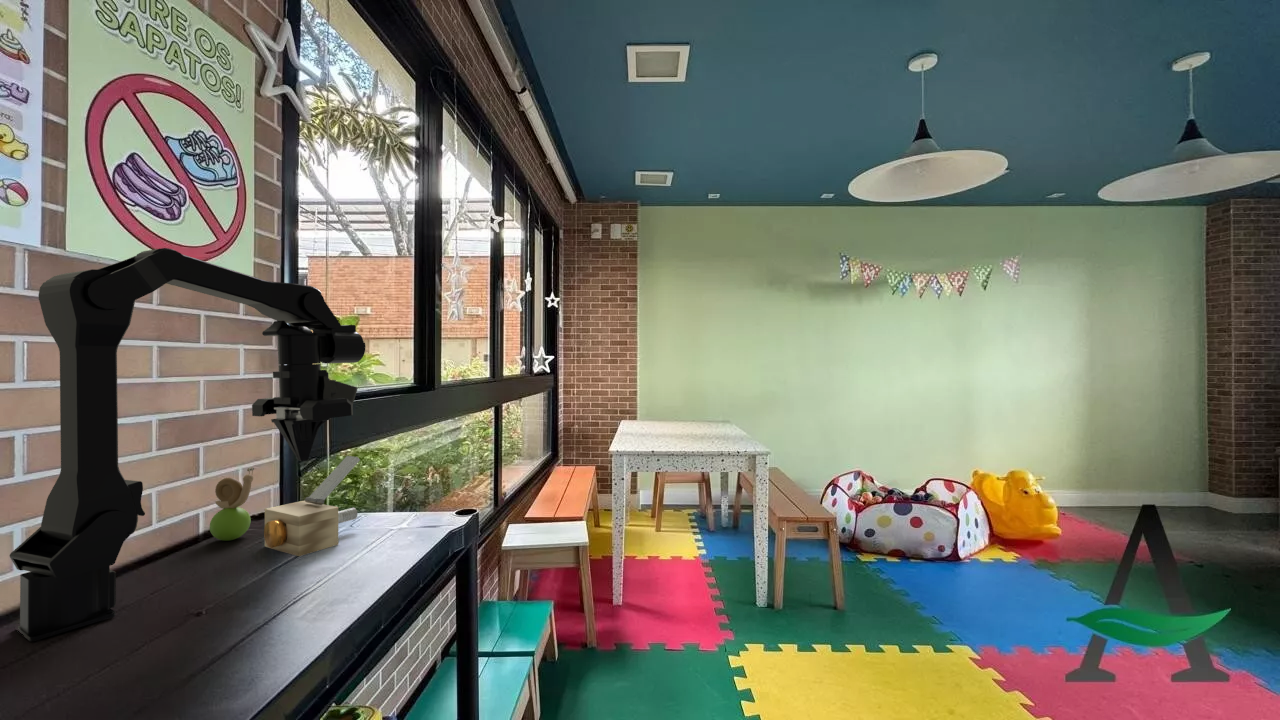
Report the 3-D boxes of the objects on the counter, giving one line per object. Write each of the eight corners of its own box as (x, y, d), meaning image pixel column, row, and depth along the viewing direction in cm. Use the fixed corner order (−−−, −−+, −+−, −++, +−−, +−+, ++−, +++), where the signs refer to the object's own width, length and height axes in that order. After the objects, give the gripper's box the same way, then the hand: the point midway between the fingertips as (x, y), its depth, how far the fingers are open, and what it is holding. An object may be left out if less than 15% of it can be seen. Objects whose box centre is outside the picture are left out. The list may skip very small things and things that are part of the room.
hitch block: (298, 556, 79) (298, 516, 79) (264, 546, 83) (264, 508, 84) (338, 544, 84) (338, 507, 84) (304, 535, 89) (304, 500, 89)
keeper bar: (321, 506, 85) (317, 502, 84) (307, 503, 86) (303, 500, 86) (362, 460, 91) (358, 456, 90) (348, 458, 93) (345, 455, 92)
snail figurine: (239, 544, 85) (239, 470, 85) (200, 545, 85) (200, 471, 85) (264, 534, 90) (264, 464, 90) (227, 534, 90) (227, 465, 90)
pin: (277, 549, 79) (277, 523, 79) (263, 545, 81) (263, 519, 81) (361, 526, 90) (360, 503, 90) (347, 523, 92) (347, 500, 92)
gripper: (382, 362, 87) (385, 455, 87) (317, 363, 96) (320, 448, 96) (312, 364, 77) (316, 469, 77) (248, 366, 86) (252, 460, 86)
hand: (303, 460), depth 84 cm, fingers closed
